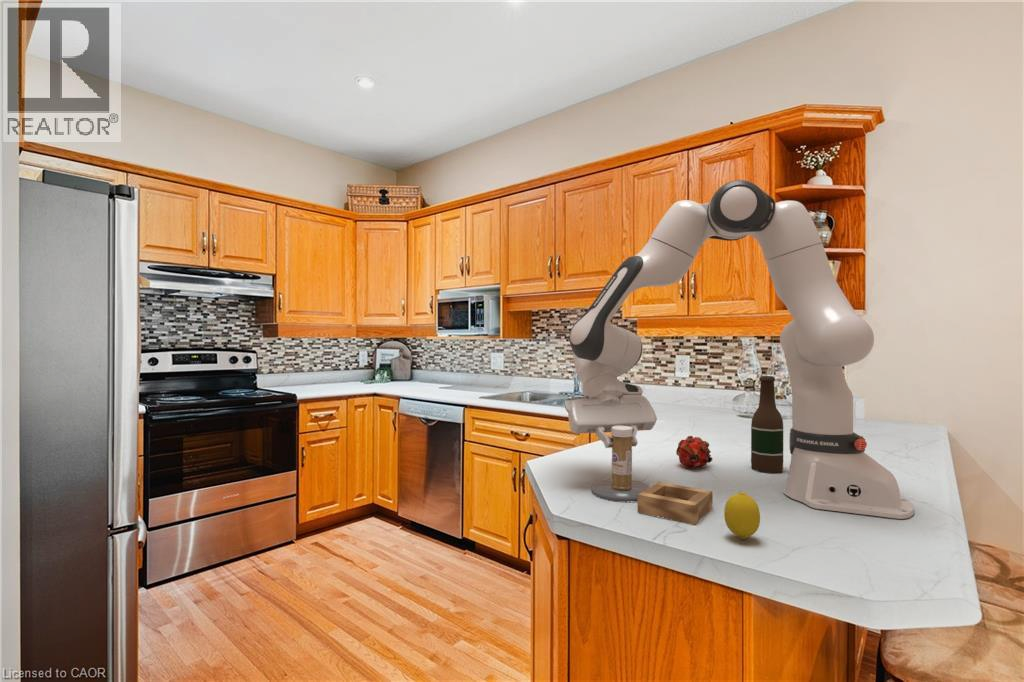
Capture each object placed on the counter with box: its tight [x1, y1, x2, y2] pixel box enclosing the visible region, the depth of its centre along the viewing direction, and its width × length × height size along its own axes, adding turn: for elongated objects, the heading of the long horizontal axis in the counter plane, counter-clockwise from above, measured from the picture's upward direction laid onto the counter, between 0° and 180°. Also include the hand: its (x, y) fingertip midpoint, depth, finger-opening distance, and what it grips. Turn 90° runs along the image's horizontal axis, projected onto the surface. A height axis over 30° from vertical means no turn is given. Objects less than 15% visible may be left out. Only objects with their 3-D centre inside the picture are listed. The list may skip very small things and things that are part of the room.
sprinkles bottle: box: [610, 426, 633, 490], centre depth 113 cm, size 5×5×13 cm
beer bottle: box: [750, 375, 784, 475], centre depth 132 cm, size 8×8×24 cm
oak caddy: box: [637, 481, 714, 525], centre depth 102 cm, size 11×11×4 cm
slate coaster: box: [591, 479, 650, 503], centre depth 113 cm, size 13×13×1 cm
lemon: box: [723, 491, 761, 540], centre depth 87 cm, size 6×6×8 cm
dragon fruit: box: [675, 435, 713, 470], centre depth 136 cm, size 8×8×12 cm
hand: (622, 445), depth 113 cm, fingers closed on sprinkles bottle, 4 cm apart
